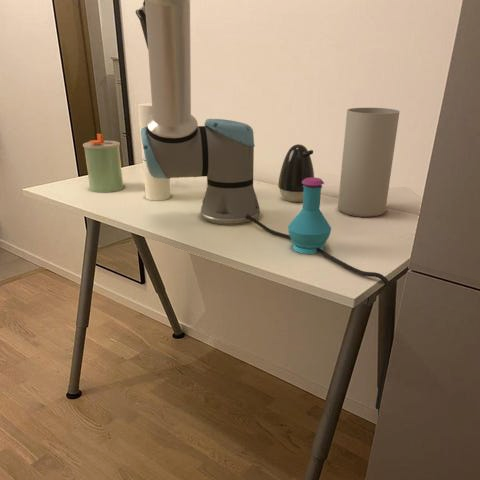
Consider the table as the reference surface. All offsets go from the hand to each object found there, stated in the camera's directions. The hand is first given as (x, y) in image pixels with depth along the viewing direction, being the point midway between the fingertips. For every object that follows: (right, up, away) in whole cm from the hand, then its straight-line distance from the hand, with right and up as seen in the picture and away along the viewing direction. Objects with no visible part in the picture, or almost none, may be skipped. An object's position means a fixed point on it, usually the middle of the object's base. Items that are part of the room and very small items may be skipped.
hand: (163, 79), depth 142 cm
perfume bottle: (+36, -52, -31) cm, 71 cm away
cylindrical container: (-2, -32, +5) cm, 33 cm away
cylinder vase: (+54, -39, -7) cm, 67 cm away
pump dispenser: (+38, -34, +3) cm, 50 cm away
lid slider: (-21, -15, +7) cm, 27 cm away
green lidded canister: (-20, -27, +14) cm, 36 cm away
